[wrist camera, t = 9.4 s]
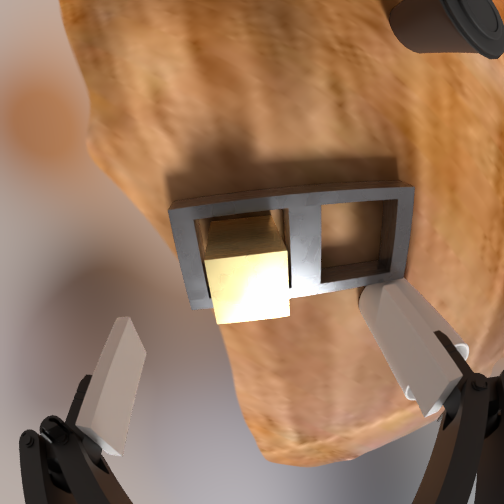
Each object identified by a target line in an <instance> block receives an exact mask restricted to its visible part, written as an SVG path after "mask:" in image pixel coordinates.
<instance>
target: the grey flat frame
mask: <svg viewBox="0 0 504 504" xmlns="http://www.w3.org/2000/svg"><path fill="white" fill-rule="evenodd" d="M414 190H415V187H414V186H412V185H409V184H407V183H405V182H402V181H400V180H393V181H365V182H346V183H330V184H316V185H303V186H292V187H281V188H271V189H262V190H253V191H244V192H236V193H228V194H220V195H213V196H206V197H199V198H192V199H185V200H179V201H174V202H173V204H172V205H171V207H170V208H169V209H168V213H169V218H170V223H171V227H172V232H173V237H174V241H175V246H176V250H177V254H178V259H179V263H180V267H181V271H182V275H183V279H184V283H185V287H186V291H187V294H188V298H189V302H190V305H191V309H192V310H197V309H206V308H214V307H213V302H212V297H211V292H210V287H209V282H208V277H207V272H206V267H205V262H204V259H205V252H204V246H203V241H202V235H201V230H200V224H199V219H202V218H209V217H217V216H224V215H232V214H240V213H248V212H257V211H265V210H274V209H283V216H284V232H285V247H286V249H287V257H288V287H289V298H294V297H301V296H308V295H314V294H320V293H327V292H333V291H339V290H344V289H350V288H356V287H361V286H367V285H372V284H377V283H383V282H388V281H393V280H398V279H403V277H404V272H405V266H406V260H407V254H408V247H409V240H410V232H411V224H412V215H413V204H414ZM374 200H383V217H382V230H381V241H380V251H379V260H375V261H369V262H363V263H356V264H350V265H343V266H336V267H329V268H322V269H321V205H324V204H336V203H348V202H360V201H374Z"/></svg>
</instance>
